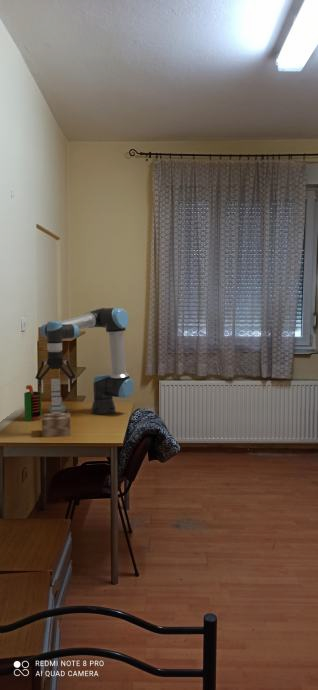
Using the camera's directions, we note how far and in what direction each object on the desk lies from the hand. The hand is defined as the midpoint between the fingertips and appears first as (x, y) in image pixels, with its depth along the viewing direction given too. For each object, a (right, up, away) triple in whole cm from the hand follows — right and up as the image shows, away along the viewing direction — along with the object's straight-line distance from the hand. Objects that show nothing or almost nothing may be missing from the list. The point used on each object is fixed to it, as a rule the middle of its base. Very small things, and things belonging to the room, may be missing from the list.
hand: (55, 391), depth 268 cm
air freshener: (-9, -18, +50) cm, 54 cm away
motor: (-20, -19, +34) cm, 44 cm away
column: (0, -14, +1) cm, 14 cm away
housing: (0, -22, +2) cm, 22 cm away
